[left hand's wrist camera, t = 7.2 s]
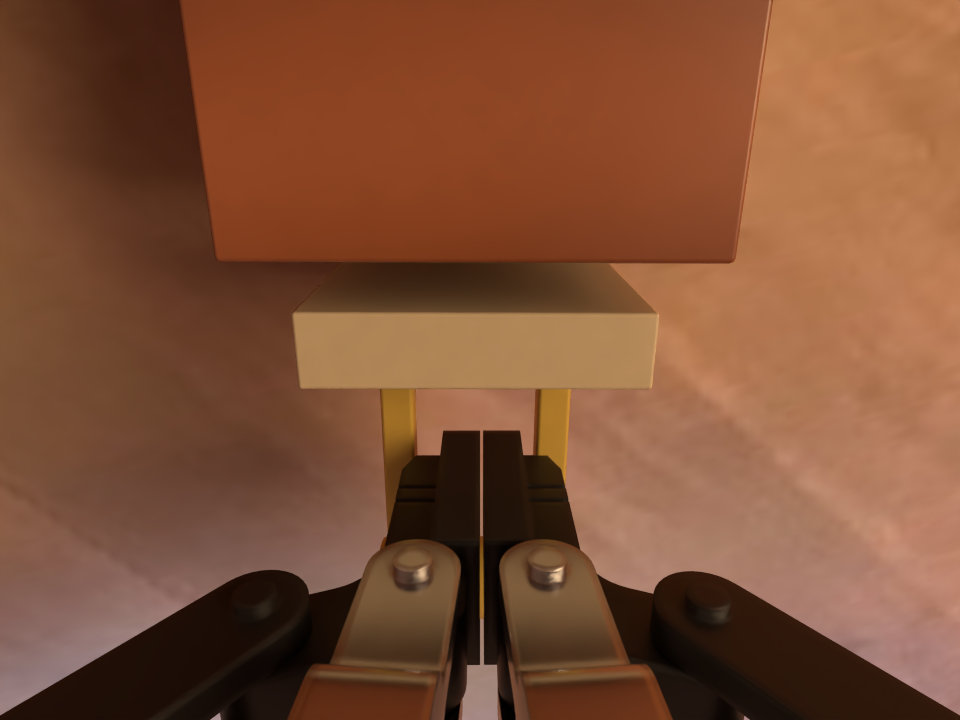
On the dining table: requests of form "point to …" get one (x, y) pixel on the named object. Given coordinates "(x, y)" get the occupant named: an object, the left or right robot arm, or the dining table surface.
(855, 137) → the dining table surface
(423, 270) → the drawer
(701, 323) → the dining table surface
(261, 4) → the cabinet
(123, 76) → the dining table surface
